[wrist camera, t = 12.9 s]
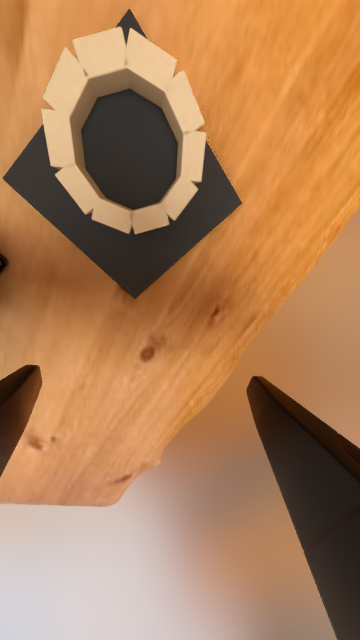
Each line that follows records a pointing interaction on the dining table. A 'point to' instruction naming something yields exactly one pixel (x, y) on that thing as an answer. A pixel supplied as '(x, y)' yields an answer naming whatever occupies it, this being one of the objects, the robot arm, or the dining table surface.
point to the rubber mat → (126, 186)
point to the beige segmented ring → (110, 77)
